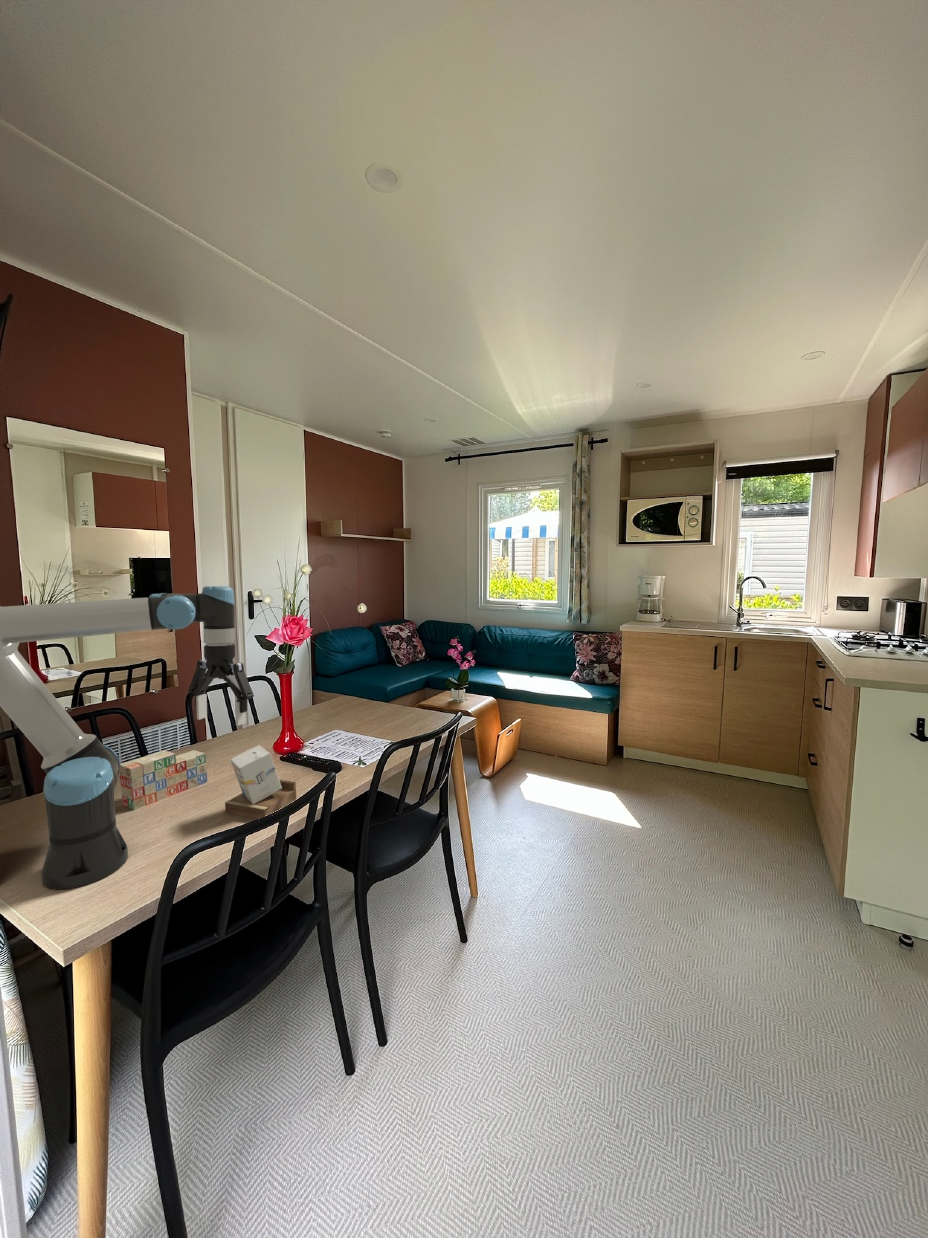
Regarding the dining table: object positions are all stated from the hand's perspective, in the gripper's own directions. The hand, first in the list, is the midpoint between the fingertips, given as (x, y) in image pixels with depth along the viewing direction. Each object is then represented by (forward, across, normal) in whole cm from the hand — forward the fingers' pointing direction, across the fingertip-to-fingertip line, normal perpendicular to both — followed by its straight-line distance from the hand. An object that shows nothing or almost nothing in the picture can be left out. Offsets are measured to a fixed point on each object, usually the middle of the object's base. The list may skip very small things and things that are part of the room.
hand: (221, 721), depth 132 cm
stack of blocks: (+26, +24, -3) cm, 35 cm away
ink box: (+21, -9, -6) cm, 23 cm away
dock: (+25, -9, -5) cm, 27 cm away
